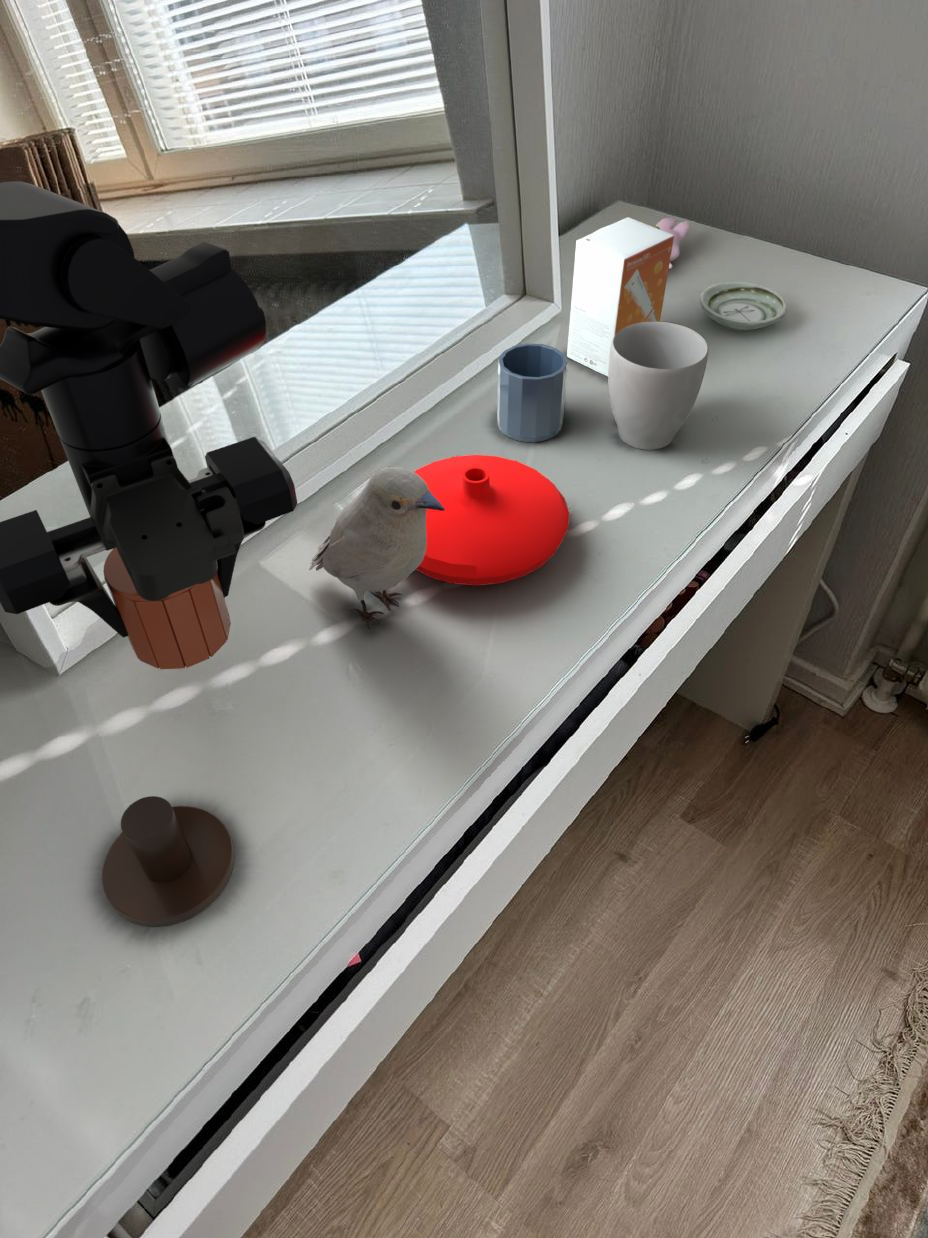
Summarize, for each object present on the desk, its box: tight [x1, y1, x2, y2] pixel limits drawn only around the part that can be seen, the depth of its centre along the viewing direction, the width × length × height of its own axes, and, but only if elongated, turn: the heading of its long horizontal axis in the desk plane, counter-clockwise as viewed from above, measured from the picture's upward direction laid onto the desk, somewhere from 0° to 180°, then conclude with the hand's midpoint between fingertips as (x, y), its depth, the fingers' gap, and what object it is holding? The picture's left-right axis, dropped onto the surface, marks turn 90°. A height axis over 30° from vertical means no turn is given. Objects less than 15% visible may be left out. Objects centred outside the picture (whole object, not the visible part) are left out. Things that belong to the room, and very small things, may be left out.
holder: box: [101, 795, 235, 927], centre depth 56 cm, size 8×8×6 cm
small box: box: [566, 216, 674, 378], centre depth 96 cm, size 8×6×13 cm
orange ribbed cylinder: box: [103, 548, 232, 670], centre depth 63 cm, size 7×7×7 cm
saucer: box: [699, 281, 788, 332], centre depth 104 cm, size 10×10×2 cm
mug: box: [607, 321, 709, 451], centre depth 87 cm, size 12×9×10 cm
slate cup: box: [496, 342, 569, 443], centre depth 89 cm, size 6×6×7 cm
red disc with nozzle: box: [413, 454, 570, 586], centre depth 77 cm, size 16×16×7 cm
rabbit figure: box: [654, 217, 691, 270], centre depth 113 cm, size 6×6×15 cm
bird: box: [308, 466, 445, 630], centre depth 68 cm, size 5×14×15 cm, turn 56°
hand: (174, 613), depth 64 cm, fingers closed on orange ribbed cylinder, 7 cm apart
